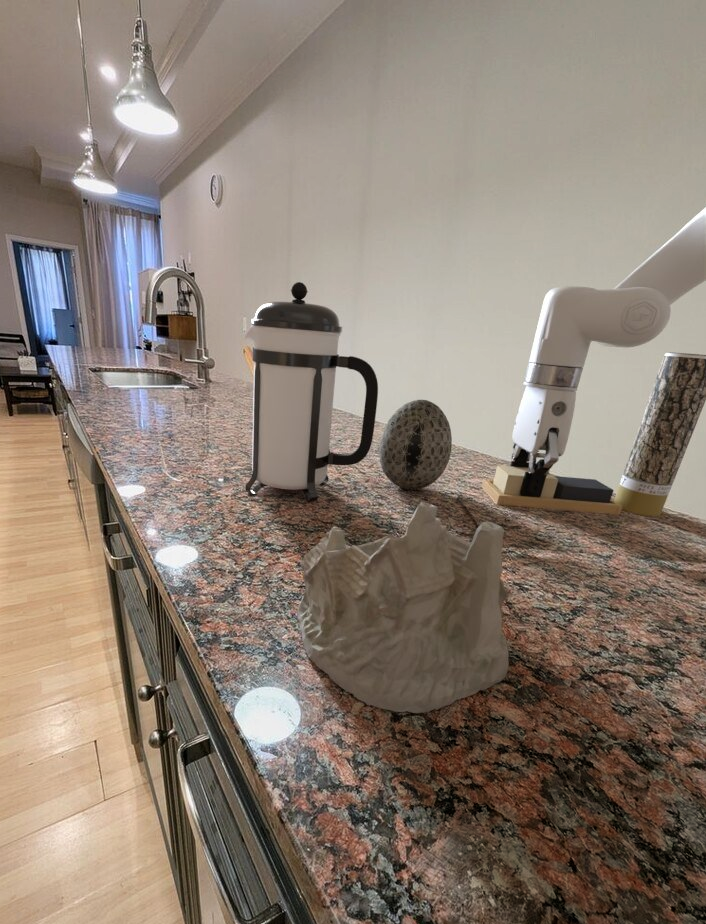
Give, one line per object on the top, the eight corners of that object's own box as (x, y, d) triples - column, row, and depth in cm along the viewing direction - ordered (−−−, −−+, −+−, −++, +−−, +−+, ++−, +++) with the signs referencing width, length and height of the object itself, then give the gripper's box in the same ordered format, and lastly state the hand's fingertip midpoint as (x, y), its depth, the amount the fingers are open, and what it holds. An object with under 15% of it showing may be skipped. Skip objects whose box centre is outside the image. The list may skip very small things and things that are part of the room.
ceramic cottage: (539, 681, 35) (580, 497, 30) (345, 740, 29) (354, 526, 24) (427, 587, 48) (441, 450, 43) (280, 615, 43) (278, 462, 38)
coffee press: (267, 512, 62) (276, 271, 51) (229, 477, 75) (229, 277, 64) (368, 498, 71) (394, 288, 59) (318, 469, 83) (332, 291, 72)
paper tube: (666, 515, 74) (729, 357, 65) (649, 522, 70) (713, 355, 61) (622, 502, 79) (675, 353, 70) (604, 507, 75) (657, 351, 66)
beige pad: (538, 488, 77) (544, 469, 76) (552, 499, 72) (558, 479, 71) (492, 484, 77) (497, 465, 76) (503, 495, 72) (508, 474, 71)
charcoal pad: (589, 498, 78) (595, 479, 76) (606, 510, 73) (613, 490, 71) (543, 494, 78) (548, 475, 76) (557, 506, 73) (563, 485, 71)
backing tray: (590, 499, 79) (594, 488, 78) (618, 518, 71) (623, 505, 71) (480, 489, 79) (483, 478, 79) (496, 507, 71) (499, 495, 71)
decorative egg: (380, 473, 84) (391, 392, 78) (443, 483, 81) (459, 399, 76) (369, 492, 73) (381, 400, 68) (442, 504, 71) (460, 409, 65)
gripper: (608, 386, 60) (569, 511, 67) (551, 374, 76) (525, 476, 83) (552, 381, 60) (518, 506, 67) (507, 371, 76) (484, 473, 83)
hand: (522, 488), depth 75 cm, fingers closed on beige pad, 5 cm apart
